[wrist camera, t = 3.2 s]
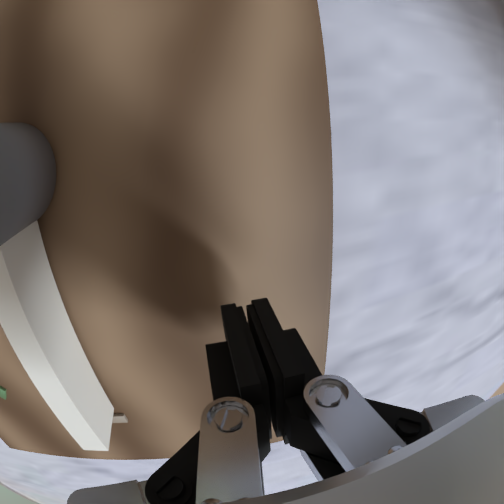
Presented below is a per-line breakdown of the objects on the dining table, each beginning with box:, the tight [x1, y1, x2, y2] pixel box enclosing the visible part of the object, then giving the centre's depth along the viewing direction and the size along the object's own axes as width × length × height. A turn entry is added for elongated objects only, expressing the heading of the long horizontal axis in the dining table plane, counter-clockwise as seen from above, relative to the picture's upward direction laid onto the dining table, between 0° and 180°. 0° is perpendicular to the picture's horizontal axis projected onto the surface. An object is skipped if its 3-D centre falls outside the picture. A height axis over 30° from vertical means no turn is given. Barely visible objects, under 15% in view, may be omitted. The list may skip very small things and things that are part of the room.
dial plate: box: [0, 0, 333, 460], centre depth 11 cm, size 24×28×2 cm
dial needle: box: [0, 123, 114, 451], centre depth 8 cm, size 4×14×4 cm, turn 5°
